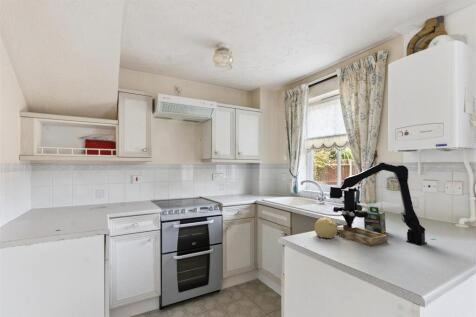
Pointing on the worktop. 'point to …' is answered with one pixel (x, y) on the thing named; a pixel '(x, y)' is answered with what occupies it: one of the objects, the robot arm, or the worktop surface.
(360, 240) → the tan wooden rectangular frame
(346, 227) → the cover plate
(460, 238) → the worktop surface
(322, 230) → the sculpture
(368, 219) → the chalk box
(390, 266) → the worktop surface
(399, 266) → the worktop surface
